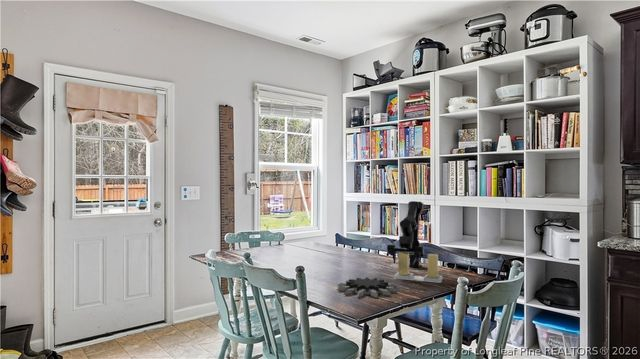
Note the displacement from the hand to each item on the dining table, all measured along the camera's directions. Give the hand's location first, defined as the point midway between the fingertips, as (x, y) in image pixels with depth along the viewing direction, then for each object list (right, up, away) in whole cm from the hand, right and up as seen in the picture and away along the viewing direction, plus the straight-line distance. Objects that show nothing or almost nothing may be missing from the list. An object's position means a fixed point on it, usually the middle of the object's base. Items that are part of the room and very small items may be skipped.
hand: (403, 264), depth 200 cm
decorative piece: (-21, -8, -19) cm, 29 cm away
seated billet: (+14, -7, -4) cm, 16 cm away
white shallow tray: (+7, -8, -2) cm, 11 cm away
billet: (+1, -7, +1) cm, 7 cm away
